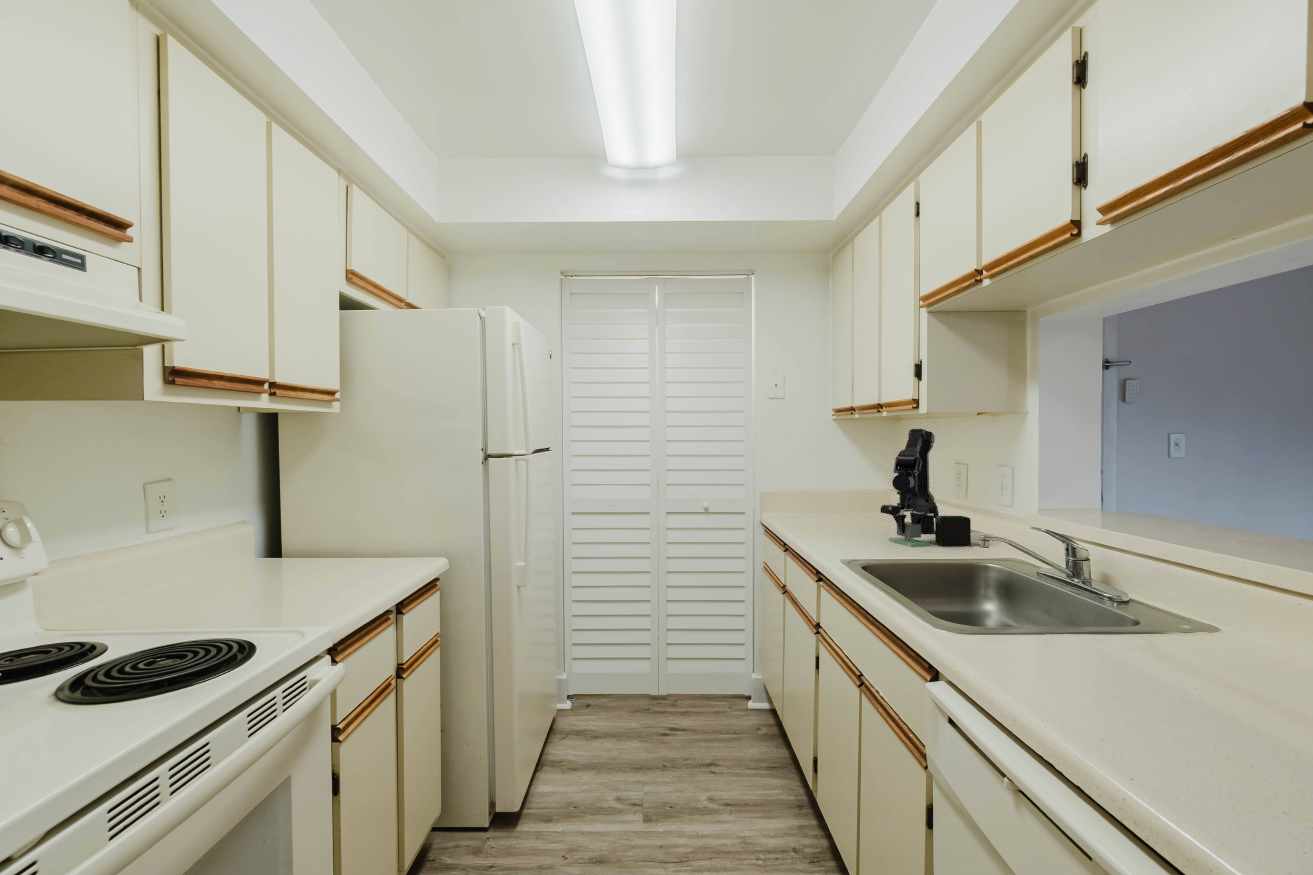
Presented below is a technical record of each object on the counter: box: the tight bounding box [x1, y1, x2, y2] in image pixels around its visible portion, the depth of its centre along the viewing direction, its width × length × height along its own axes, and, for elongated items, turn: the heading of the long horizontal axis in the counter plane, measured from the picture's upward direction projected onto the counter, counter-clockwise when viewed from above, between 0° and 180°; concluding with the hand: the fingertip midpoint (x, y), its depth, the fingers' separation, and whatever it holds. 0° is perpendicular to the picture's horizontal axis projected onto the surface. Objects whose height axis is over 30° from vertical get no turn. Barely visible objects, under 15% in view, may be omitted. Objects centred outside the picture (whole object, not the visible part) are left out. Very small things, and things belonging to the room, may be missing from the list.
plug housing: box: [896, 521, 922, 539], centre depth 190 cm, size 7×4×4 cm, turn 12°
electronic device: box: [934, 515, 972, 548], centre depth 185 cm, size 4×10×10 cm, turn 89°
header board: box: [888, 536, 930, 548], centre depth 190 cm, size 12×7×4 cm, turn 12°
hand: (908, 533), depth 190 cm, fingers closed on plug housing, 4 cm apart
